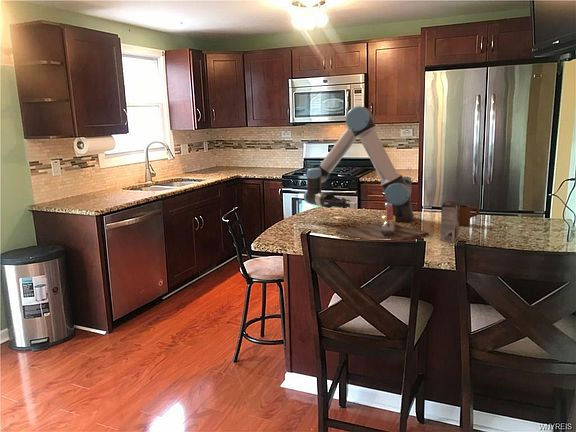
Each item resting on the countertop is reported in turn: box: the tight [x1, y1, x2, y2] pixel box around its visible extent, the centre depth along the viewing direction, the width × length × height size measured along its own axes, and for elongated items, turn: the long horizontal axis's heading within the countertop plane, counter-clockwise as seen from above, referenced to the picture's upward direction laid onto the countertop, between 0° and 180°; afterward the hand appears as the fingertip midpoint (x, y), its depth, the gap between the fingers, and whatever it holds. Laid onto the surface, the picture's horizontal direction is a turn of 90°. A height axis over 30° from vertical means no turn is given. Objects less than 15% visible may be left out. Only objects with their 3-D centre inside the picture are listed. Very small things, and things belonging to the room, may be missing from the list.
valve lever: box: [384, 202, 393, 220], centre depth 210 cm, size 22×3×4 cm, turn 170°
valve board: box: [335, 221, 430, 241], centre depth 219 cm, size 31×30×2 cm
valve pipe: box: [381, 213, 396, 236], centre depth 220 cm, size 23×6×10 cm, turn 167°
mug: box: [459, 204, 480, 227], centre depth 232 cm, size 12×8×9 cm, turn 82°
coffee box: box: [439, 201, 461, 243], centre depth 206 cm, size 9×6×16 cm
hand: (355, 206), depth 222 cm, fingers closed
